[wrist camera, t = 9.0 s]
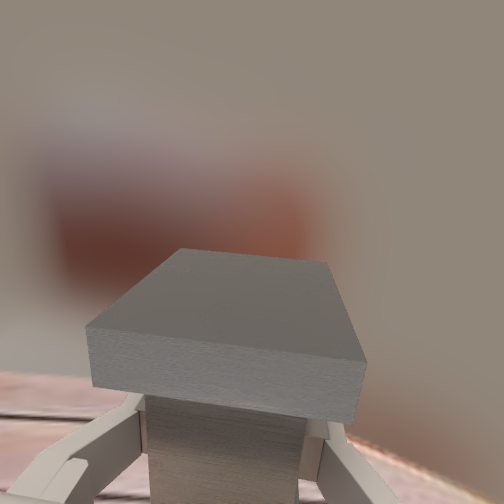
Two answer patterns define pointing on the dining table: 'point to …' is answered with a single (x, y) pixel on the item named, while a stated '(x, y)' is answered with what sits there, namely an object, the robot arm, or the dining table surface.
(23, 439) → the dining table surface
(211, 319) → the post
